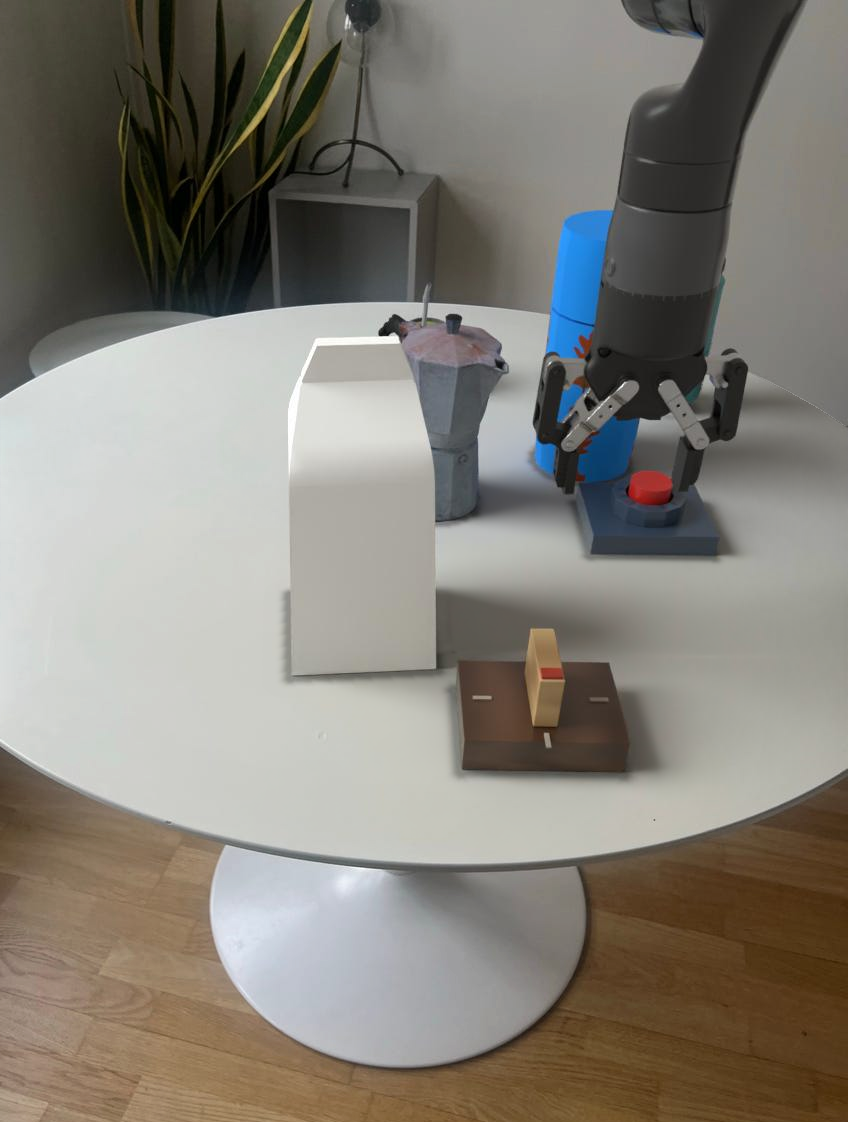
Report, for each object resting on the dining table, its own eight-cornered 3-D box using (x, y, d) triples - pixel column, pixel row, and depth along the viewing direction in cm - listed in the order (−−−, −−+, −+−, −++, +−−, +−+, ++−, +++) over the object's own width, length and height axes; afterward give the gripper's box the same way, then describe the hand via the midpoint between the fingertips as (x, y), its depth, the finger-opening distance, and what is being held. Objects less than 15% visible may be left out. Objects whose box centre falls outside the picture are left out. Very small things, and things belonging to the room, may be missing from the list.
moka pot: (469, 544, 95) (485, 347, 82) (346, 494, 102) (343, 307, 89) (518, 503, 101) (540, 314, 88) (399, 459, 108) (403, 278, 95)
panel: (602, 685, 79) (608, 655, 77) (625, 778, 71) (633, 748, 69) (455, 683, 79) (457, 653, 77) (462, 775, 71) (465, 745, 69)
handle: (524, 672, 75) (530, 625, 72) (547, 673, 75) (554, 625, 72) (532, 726, 71) (540, 678, 68) (557, 727, 71) (565, 678, 68)
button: (664, 486, 96) (668, 470, 95) (673, 507, 93) (677, 491, 92) (624, 485, 96) (627, 470, 95) (632, 506, 93) (635, 491, 92)
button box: (689, 502, 101) (698, 468, 98) (714, 556, 93) (724, 521, 91) (575, 500, 101) (580, 467, 99) (590, 554, 93) (596, 519, 91)
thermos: (523, 473, 105) (552, 236, 89) (541, 430, 113) (570, 205, 97) (624, 490, 103) (672, 248, 87) (635, 444, 111) (681, 215, 95)
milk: (291, 675, 80) (271, 377, 63) (290, 592, 88) (272, 312, 72) (436, 668, 80) (453, 372, 64) (420, 587, 89) (432, 308, 73)
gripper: (751, 251, 66) (702, 463, 76) (542, 254, 66) (521, 465, 76) (790, 289, 60) (730, 513, 70) (561, 293, 60) (535, 516, 70)
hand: (622, 488), depth 73 cm, fingers open, 8 cm apart
